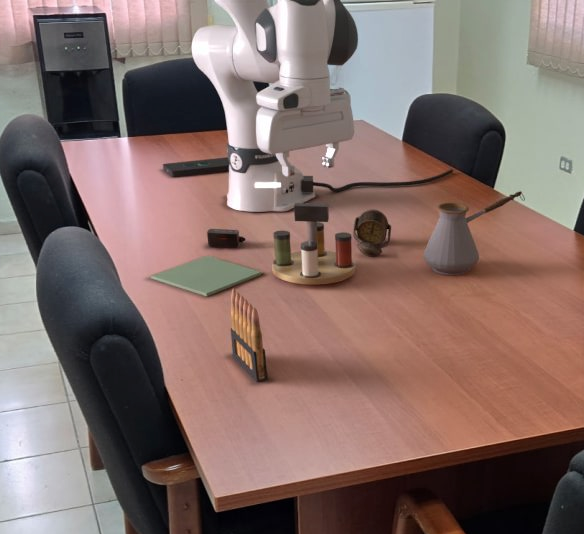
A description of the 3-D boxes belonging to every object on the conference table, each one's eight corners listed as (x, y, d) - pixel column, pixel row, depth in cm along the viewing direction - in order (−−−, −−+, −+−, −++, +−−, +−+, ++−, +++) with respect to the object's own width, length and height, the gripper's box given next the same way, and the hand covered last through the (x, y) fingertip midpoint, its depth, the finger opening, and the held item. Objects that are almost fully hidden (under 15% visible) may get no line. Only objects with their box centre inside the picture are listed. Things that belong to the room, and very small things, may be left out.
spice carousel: (255, 267, 189) (250, 202, 182) (320, 250, 199) (317, 188, 192) (307, 291, 179) (304, 223, 172) (372, 271, 190) (371, 206, 183)
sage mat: (207, 258, 195) (207, 255, 195) (262, 274, 188) (261, 271, 188) (151, 278, 184) (150, 275, 184) (206, 296, 177) (206, 293, 177)
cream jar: (298, 273, 183) (297, 243, 180) (311, 269, 185) (310, 240, 182) (309, 277, 181) (307, 247, 178) (322, 273, 183) (320, 244, 180)
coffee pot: (434, 281, 189) (436, 206, 181) (415, 262, 198) (416, 190, 190) (530, 271, 196) (536, 198, 188) (507, 253, 205) (512, 183, 197)
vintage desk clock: (407, 217, 206) (366, 201, 207) (383, 228, 195) (340, 211, 196) (398, 248, 209) (358, 232, 211) (375, 261, 198) (333, 244, 200)
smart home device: (161, 163, 249) (234, 155, 259) (162, 169, 250) (234, 162, 260) (171, 170, 244) (245, 162, 253) (172, 177, 245) (246, 169, 254)
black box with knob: (241, 249, 200) (240, 234, 199) (207, 247, 200) (206, 232, 199) (246, 242, 204) (244, 227, 203) (213, 240, 204) (211, 225, 203)
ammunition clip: (232, 356, 156) (225, 287, 150) (243, 354, 157) (237, 285, 151) (256, 382, 148) (250, 310, 142) (267, 379, 149) (262, 308, 143)
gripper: (338, 83, 177) (340, 159, 184) (248, 95, 164) (254, 176, 171) (360, 89, 173) (362, 166, 180) (270, 101, 160) (275, 183, 167)
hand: (308, 171), depth 176 cm, fingers open, 8 cm apart
